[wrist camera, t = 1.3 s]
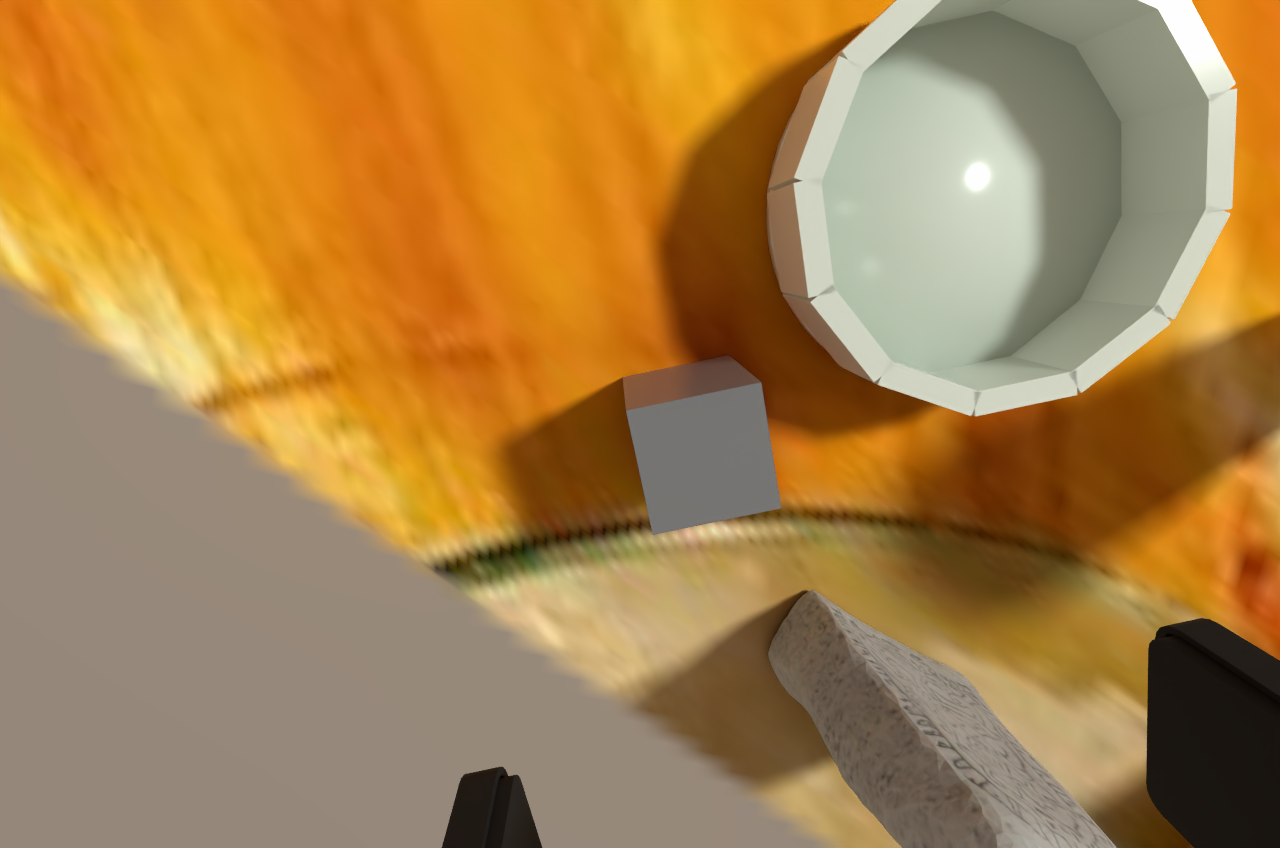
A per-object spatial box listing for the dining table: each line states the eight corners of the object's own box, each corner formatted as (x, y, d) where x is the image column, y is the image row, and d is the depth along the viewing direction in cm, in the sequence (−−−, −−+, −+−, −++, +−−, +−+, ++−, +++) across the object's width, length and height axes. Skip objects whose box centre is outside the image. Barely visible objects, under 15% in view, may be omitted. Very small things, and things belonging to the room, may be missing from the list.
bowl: (1126, -40, 26) (1245, -108, 21) (1126, 346, 30) (1225, 364, 25) (739, 43, 26) (768, -5, 21) (793, 416, 30) (828, 447, 25)
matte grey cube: (728, 354, 29) (761, 382, 23) (745, 456, 31) (781, 508, 24) (622, 377, 29) (625, 410, 23) (643, 477, 31) (652, 534, 24)
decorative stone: (979, 654, 34) (1253, 951, 20) (915, 738, 35) (1128, 1075, 21) (811, 569, 32) (975, 825, 18) (750, 660, 33) (857, 970, 19)
